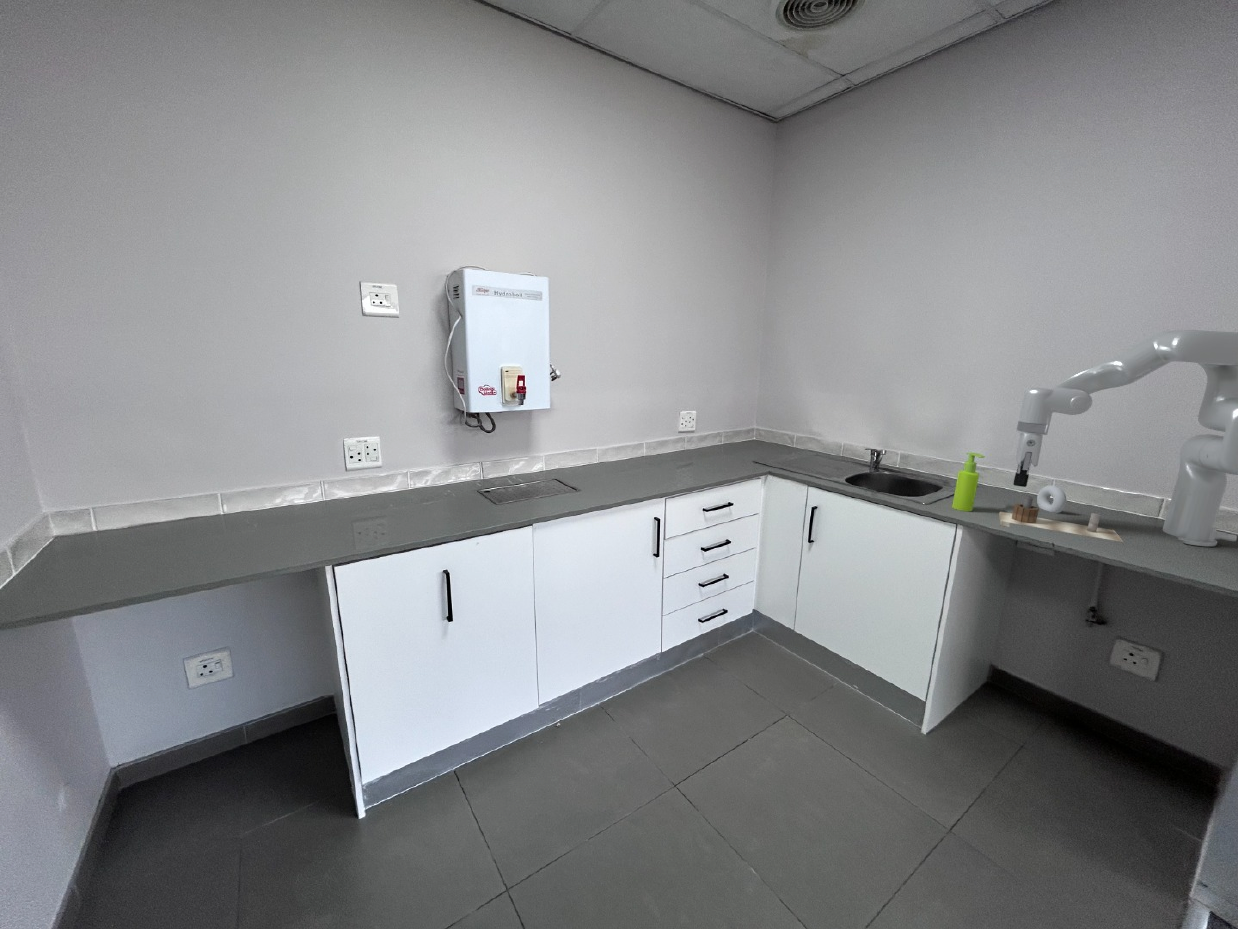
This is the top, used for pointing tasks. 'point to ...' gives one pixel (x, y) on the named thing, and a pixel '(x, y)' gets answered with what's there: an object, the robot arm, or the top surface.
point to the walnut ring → (1025, 513)
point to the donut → (1058, 499)
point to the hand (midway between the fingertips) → (1019, 485)
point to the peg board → (1063, 524)
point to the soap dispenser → (966, 485)
